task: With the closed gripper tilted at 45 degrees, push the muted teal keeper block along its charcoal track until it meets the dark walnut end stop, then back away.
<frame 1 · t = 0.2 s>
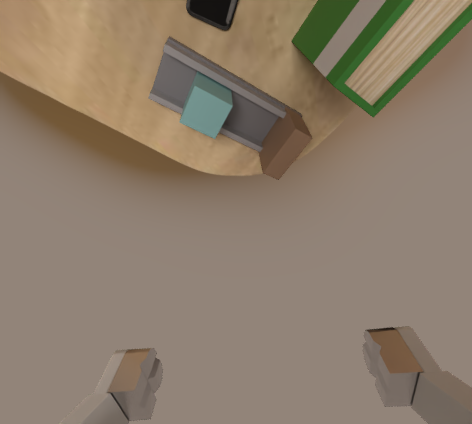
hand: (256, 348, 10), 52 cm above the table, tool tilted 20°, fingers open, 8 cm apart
keeper block: (206, 104, 48), point 6 cm above the table, slide at 0.0 cm
hardback book: (341, 2, 43), on the table
keeper track: (229, 103, 54), on the table
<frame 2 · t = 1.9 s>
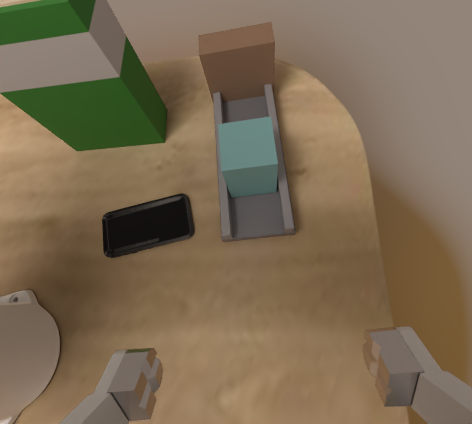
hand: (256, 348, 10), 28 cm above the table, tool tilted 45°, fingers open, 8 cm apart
keeper block: (249, 160, 37), point 6 cm above the table, slide at 0.0 cm
hardback book: (122, 131, 50), on the table
keeper track: (249, 153, 44), on the table
phone: (149, 226, 43), on the table
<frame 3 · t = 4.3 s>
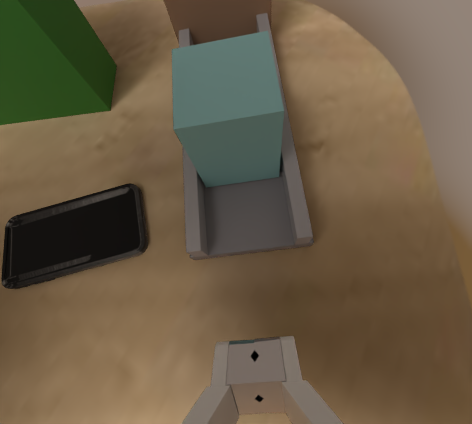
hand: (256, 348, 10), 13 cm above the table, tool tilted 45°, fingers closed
keeper block: (232, 121, 21), point 6 cm above the table, slide at 0.0 cm
hardback book: (52, 97, 34), on the table
keeper track: (235, 121, 29), on the table
phone: (80, 237, 27), on the table
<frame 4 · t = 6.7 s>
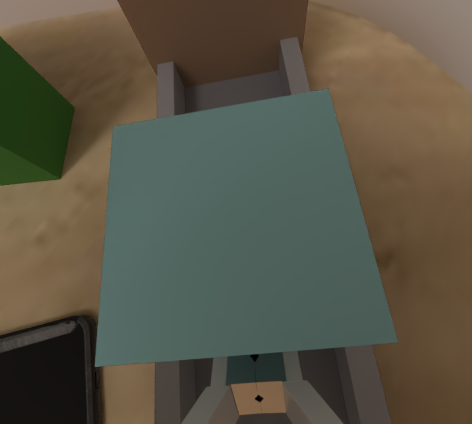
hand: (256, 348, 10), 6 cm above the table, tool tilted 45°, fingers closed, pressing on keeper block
keeper block: (243, 243, 11), point 6 cm above the table, slide at 1.1 cm, touching gripper
keeper track: (246, 207, 18), on the table
phone: (0, 400, 17), on the table
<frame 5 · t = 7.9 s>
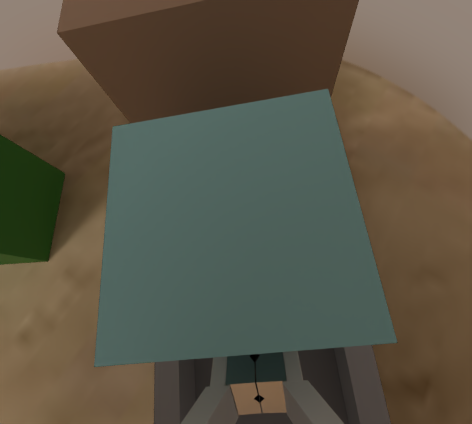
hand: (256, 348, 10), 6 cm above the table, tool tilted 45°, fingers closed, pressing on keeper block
keeper block: (242, 243, 11), point 6 cm above the table, slide at 8.0 cm, touching gripper
keeper track: (258, 310, 16), on the table
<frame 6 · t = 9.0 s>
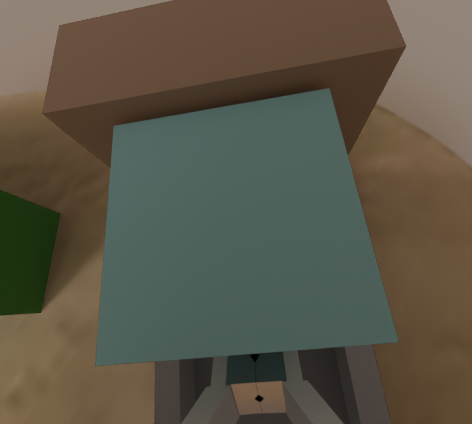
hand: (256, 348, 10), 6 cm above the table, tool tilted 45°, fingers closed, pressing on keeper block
keeper block: (243, 243, 11), point 6 cm above the table, slide at 11.7 cm, touching gripper
keeper track: (266, 376, 15), on the table
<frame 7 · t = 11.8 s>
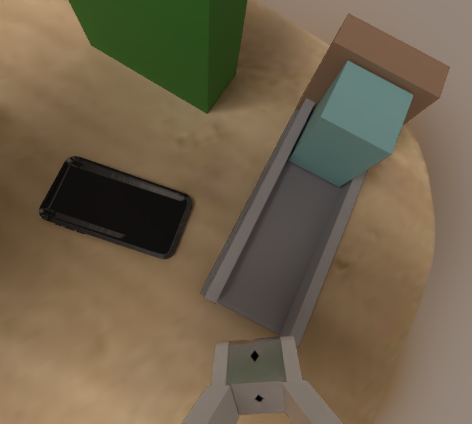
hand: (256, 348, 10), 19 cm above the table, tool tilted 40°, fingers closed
keeper block: (342, 131, 27), point 6 cm above the table, slide at 11.7 cm
hardback book: (165, 61, 34), on the table
keeper track: (297, 200, 32), on the table
phone: (121, 209, 30), on the table
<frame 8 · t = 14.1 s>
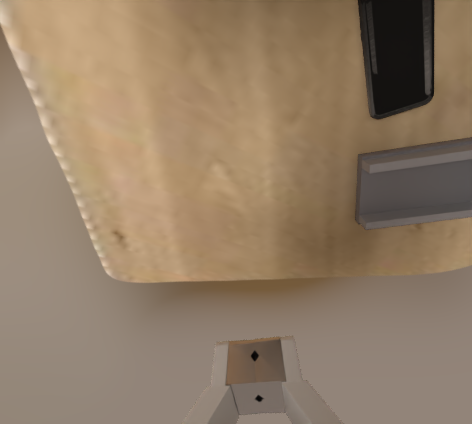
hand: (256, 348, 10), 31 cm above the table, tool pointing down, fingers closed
keeper track: (459, 174, 38), on the table
phone: (393, 50, 32), on the table
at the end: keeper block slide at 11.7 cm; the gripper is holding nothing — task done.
